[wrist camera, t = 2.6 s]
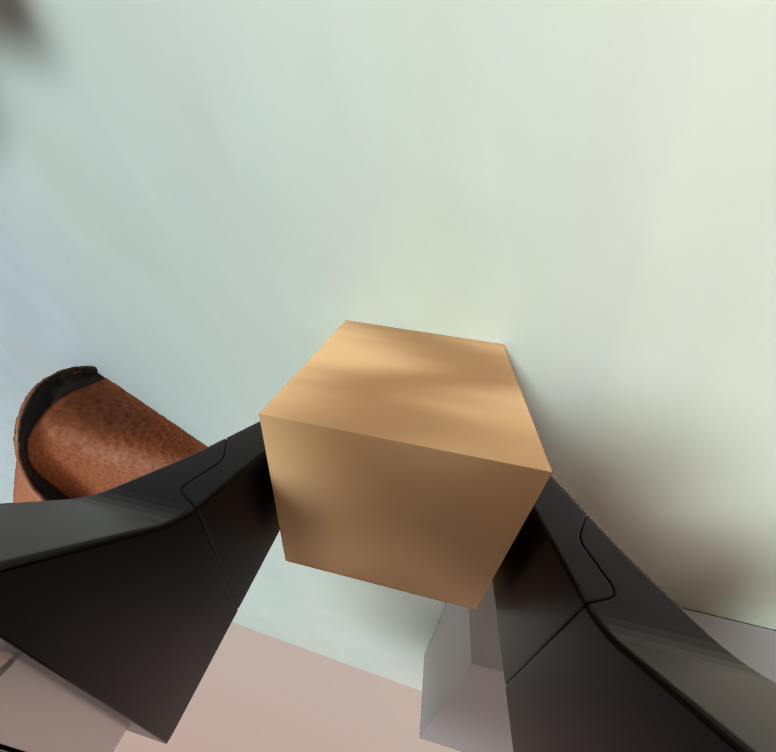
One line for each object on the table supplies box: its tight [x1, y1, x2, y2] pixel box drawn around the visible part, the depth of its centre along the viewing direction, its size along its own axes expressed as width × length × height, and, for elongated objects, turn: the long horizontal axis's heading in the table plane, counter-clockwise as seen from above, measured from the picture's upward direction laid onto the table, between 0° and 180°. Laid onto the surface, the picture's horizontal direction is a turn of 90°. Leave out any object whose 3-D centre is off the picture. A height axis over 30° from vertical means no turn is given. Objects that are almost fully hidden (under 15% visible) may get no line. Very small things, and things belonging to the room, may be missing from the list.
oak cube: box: [259, 321, 552, 610], centre depth 8 cm, size 5×5×5 cm
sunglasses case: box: [13, 366, 207, 503], centre depth 17 cm, size 18×7×7 cm
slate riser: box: [420, 581, 776, 752], centre depth 16 cm, size 14×14×4 cm
